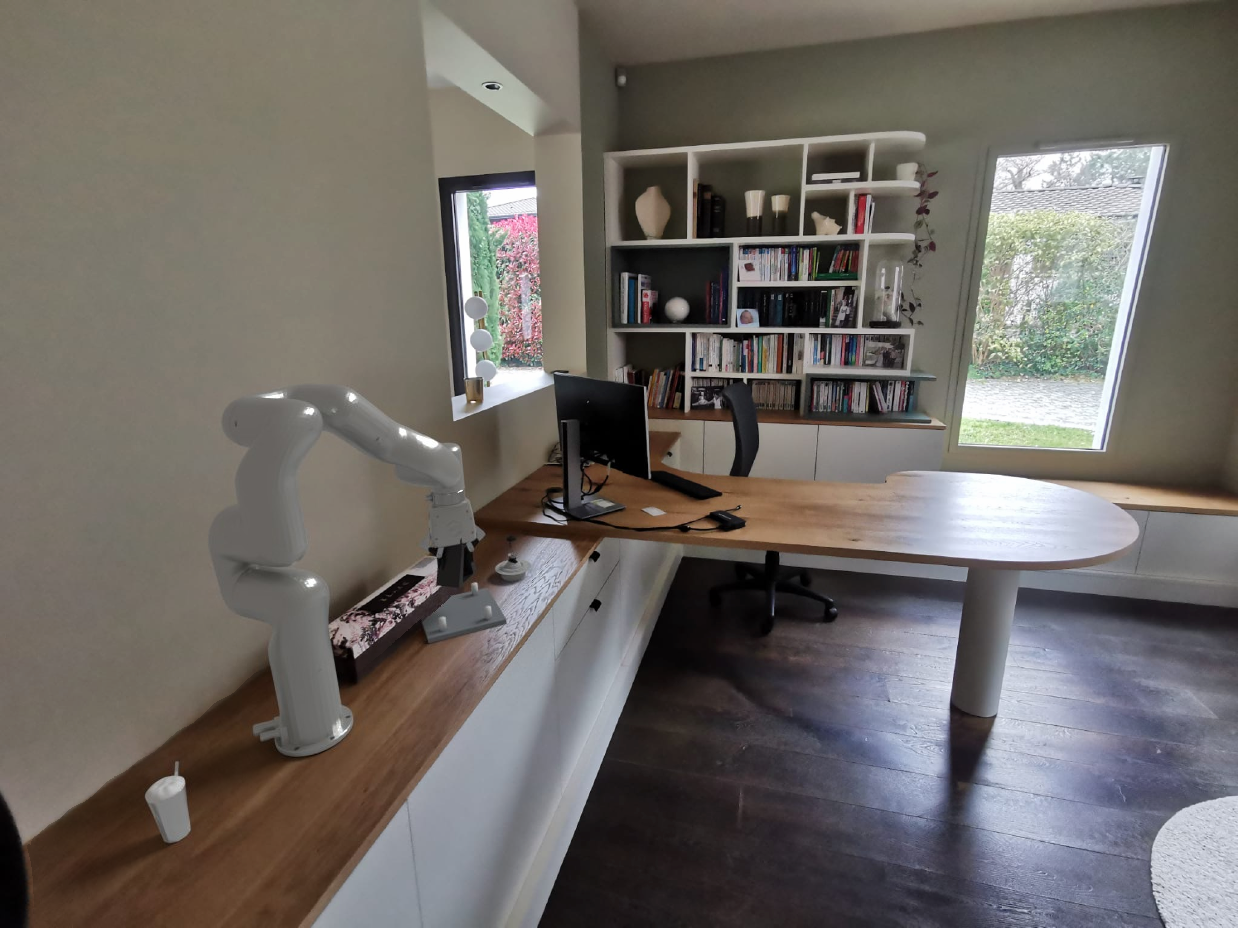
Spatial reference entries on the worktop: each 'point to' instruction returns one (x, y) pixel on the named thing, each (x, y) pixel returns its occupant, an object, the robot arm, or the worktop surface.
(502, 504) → the worktop surface
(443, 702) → the worktop surface
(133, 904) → the worktop surface
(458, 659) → the worktop surface
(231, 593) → the robot arm
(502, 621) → the base plate
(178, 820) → the milkshake
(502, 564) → the grey spinning top
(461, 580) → the phone stand
